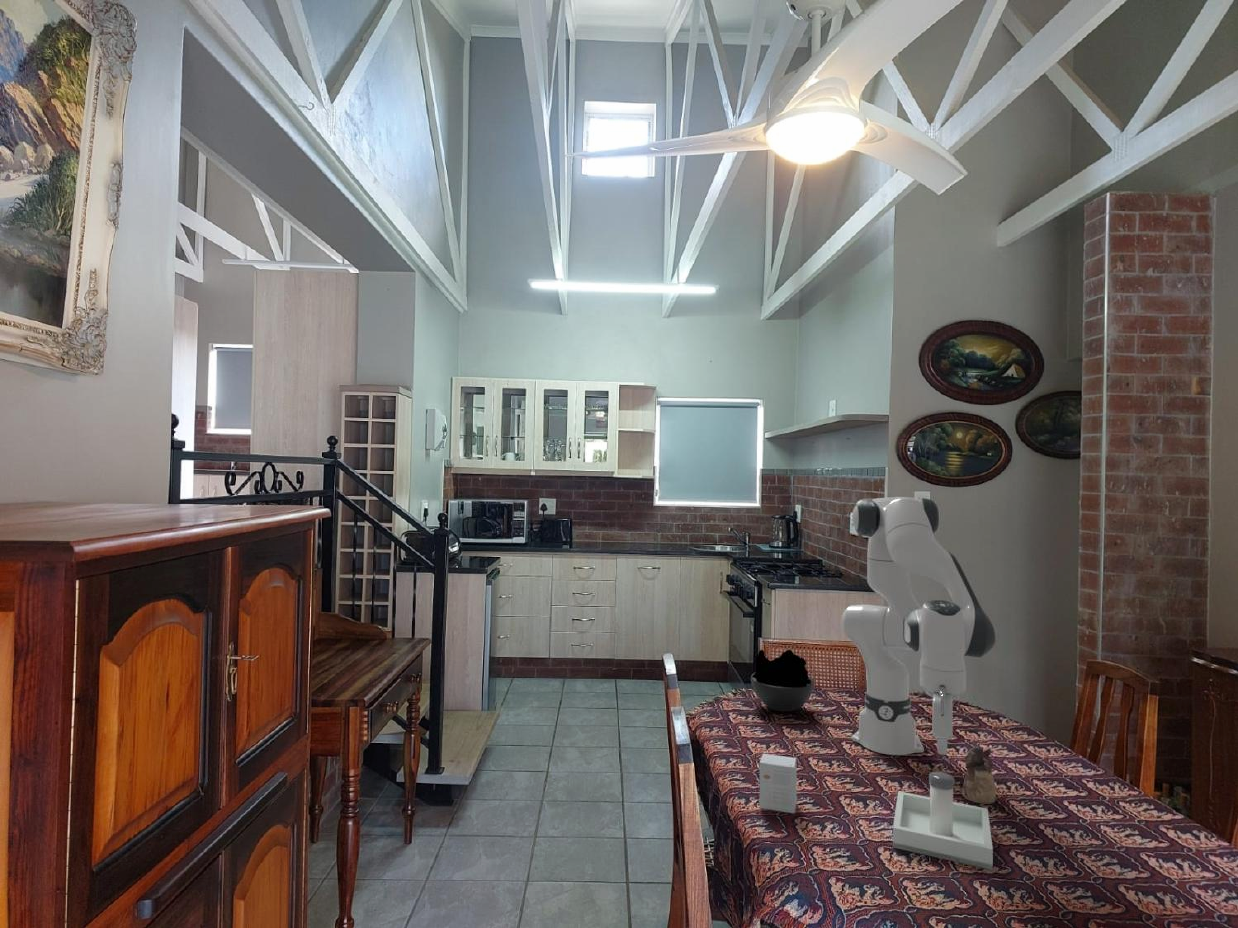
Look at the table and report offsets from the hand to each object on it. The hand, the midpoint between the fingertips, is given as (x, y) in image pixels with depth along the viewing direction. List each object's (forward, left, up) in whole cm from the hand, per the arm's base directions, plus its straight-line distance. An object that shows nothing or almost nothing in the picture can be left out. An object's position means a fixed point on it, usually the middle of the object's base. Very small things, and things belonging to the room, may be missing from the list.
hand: (942, 744), depth 145 cm
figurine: (-24, +8, -20) cm, 32 cm away
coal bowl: (-63, -47, -20) cm, 81 cm away
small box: (+2, -34, -20) cm, 39 cm away
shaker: (0, 0, -18) cm, 18 cm away
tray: (0, 0, -19) cm, 19 cm away
